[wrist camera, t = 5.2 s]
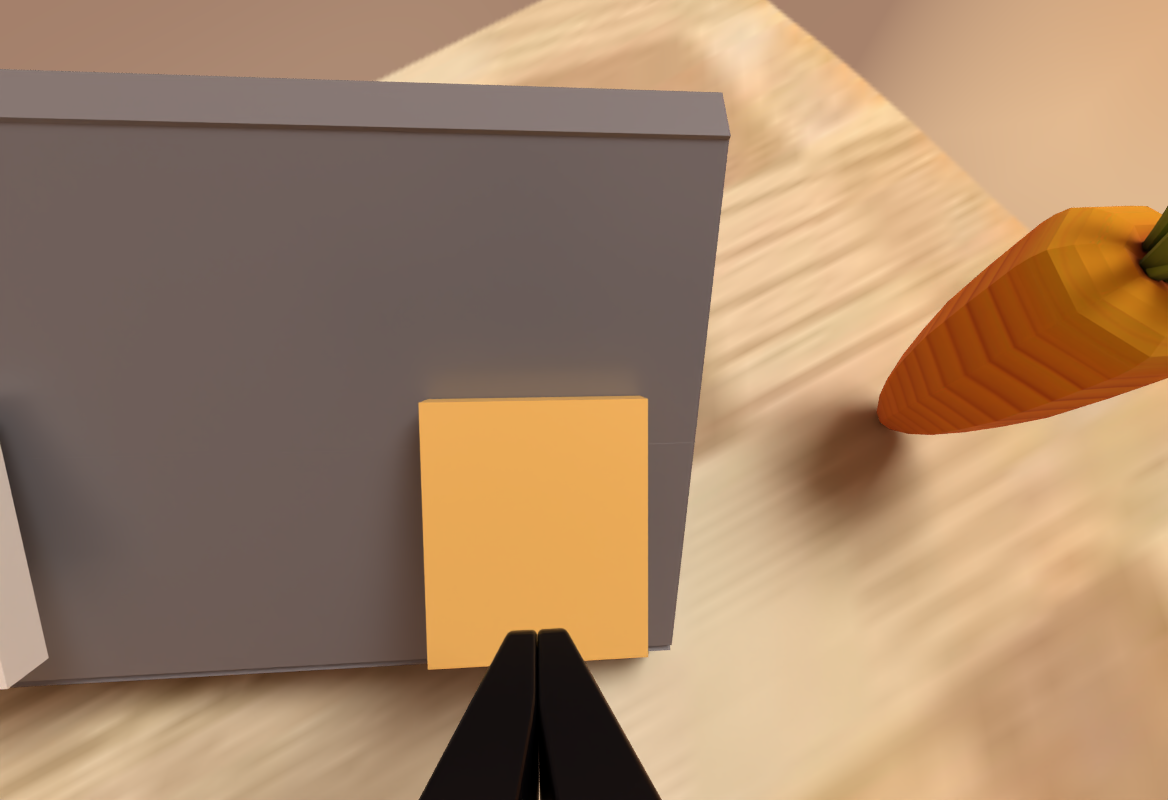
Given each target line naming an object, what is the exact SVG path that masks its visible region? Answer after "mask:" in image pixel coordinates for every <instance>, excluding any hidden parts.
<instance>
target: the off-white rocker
mask: <svg viewBox="0 0 1168 800" xmlns="http://www.w3.org/2000/svg"><path fill="white" fill-rule="evenodd" d="M48 658H49V657H48V653H47V648H46V644H45V640H44V635H43V631H42V626H41V622H40V617H39V613H38V609H37V604H36V600H35V595H34V591H33V586H32V582H31V578H30V573H29V569H28V564H27V560H26V556H25V551H24V547H23V542H22V538H21V533H20V529H19V525H18V520H17V516H16V511H15V507H14V503H13V498H12V494H11V489H10V485H9V480H8V476H7V472H6V467H5V463H4V458H3V454H2V449H1V445H0V689H8V688H10V687H11V686H12V685H14V684H15V683H16V682H18V681H19V680H20V679H22V678H23V677H24V676H26V675H27V674H28V673H30V672H31V671H32V670H34V669H35V668H36V667H38V666H39V665H40V664H41V663H43V662H44V661H45V660H47V659H48Z"/></svg>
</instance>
